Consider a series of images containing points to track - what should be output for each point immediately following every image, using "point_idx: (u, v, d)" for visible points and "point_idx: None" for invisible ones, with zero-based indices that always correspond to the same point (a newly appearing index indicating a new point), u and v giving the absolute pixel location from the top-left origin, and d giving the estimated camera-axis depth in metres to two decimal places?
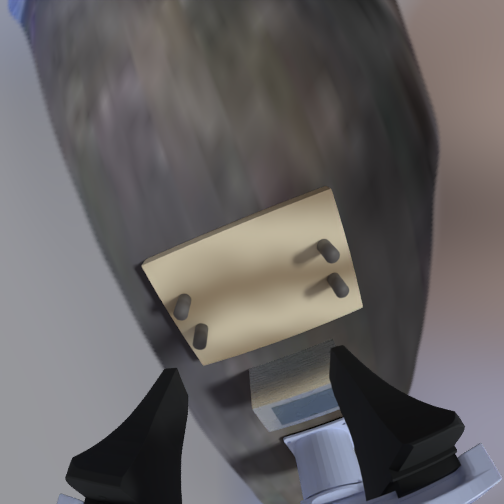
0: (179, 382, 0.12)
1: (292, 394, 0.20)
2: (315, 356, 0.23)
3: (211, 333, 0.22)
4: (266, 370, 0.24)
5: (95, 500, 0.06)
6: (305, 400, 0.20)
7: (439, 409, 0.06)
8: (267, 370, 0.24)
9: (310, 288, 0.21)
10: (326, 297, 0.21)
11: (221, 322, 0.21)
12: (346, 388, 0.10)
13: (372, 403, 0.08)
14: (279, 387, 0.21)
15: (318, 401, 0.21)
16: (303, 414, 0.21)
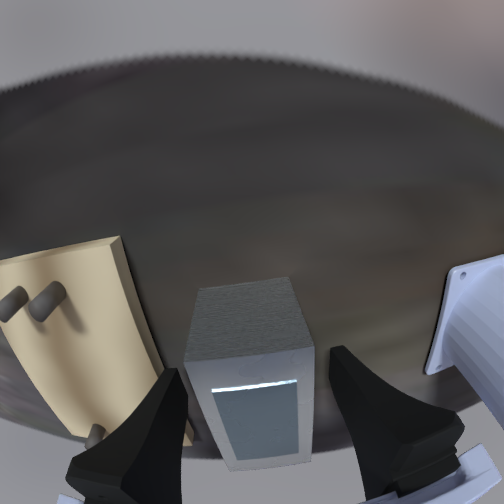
0: (178, 382, 0.12)
1: (215, 436, 0.10)
2: None
3: None
4: None
5: (95, 500, 0.06)
6: (236, 429, 0.10)
7: (439, 409, 0.06)
8: None
9: (72, 323, 0.12)
10: (85, 306, 0.11)
11: (124, 416, 0.14)
12: (346, 388, 0.10)
13: (372, 403, 0.08)
14: None
15: (252, 414, 0.09)
16: (282, 433, 0.10)
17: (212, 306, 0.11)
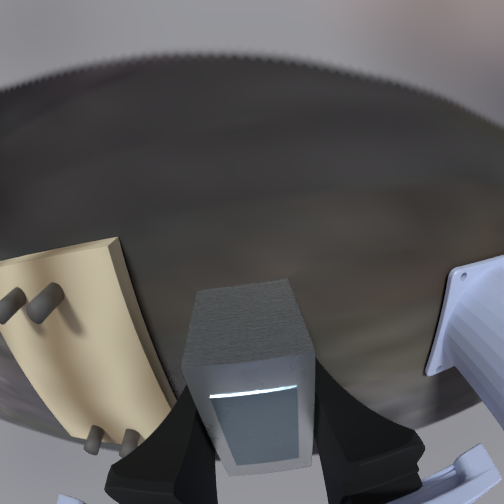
0: None
1: (213, 441, 0.10)
2: None
3: (139, 429, 0.15)
4: None
5: None
6: (235, 434, 0.09)
7: (398, 426, 0.06)
8: None
9: (70, 325, 0.12)
10: (83, 307, 0.11)
11: (123, 418, 0.14)
12: None
13: (328, 414, 0.08)
14: None
15: (252, 420, 0.09)
16: (282, 438, 0.10)
17: (211, 310, 0.11)
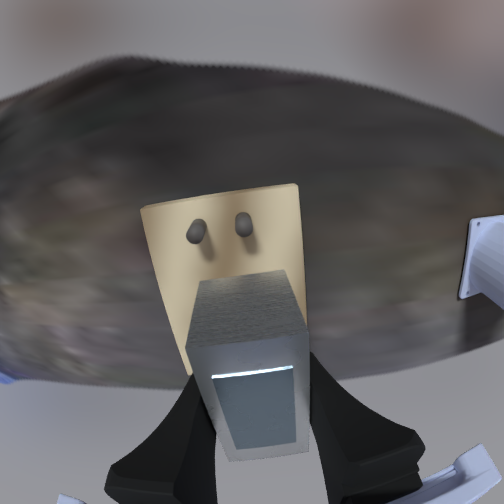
0: None
1: (214, 424, 0.11)
2: None
3: None
4: None
5: None
6: (235, 416, 0.10)
7: (398, 426, 0.06)
8: None
9: (247, 247, 0.19)
10: (265, 231, 0.18)
11: None
12: (310, 396, 0.10)
13: (328, 414, 0.08)
14: None
15: (251, 401, 0.10)
16: (280, 421, 0.10)
17: (212, 298, 0.12)
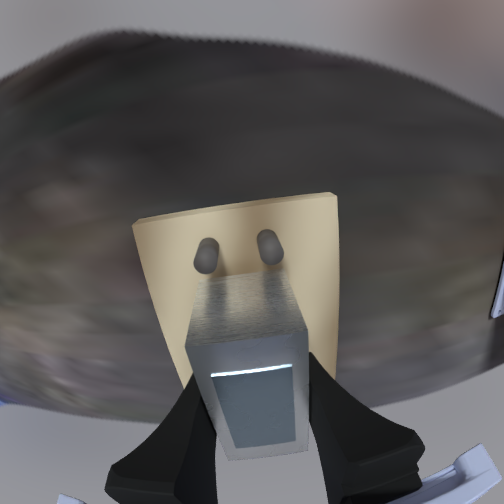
0: None
1: (214, 422, 0.11)
2: None
3: None
4: None
5: None
6: (234, 415, 0.10)
7: (398, 426, 0.06)
8: None
9: None
10: (295, 253, 0.14)
11: None
12: (310, 396, 0.10)
13: (328, 414, 0.08)
14: None
15: (250, 400, 0.10)
16: (279, 420, 0.10)
17: (212, 297, 0.12)
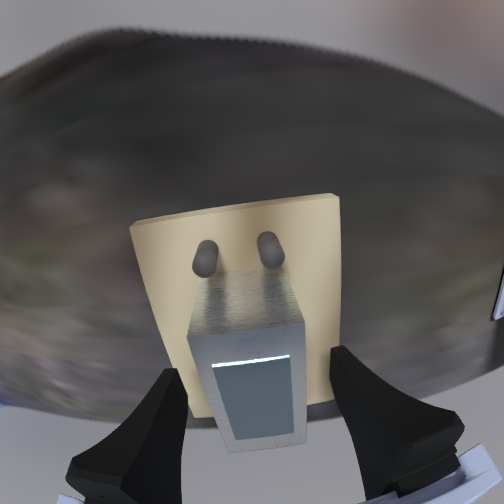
0: (178, 382, 0.12)
1: (214, 414, 0.11)
2: None
3: None
4: None
5: (95, 500, 0.06)
6: (234, 405, 0.11)
7: (439, 409, 0.06)
8: None
9: None
10: (296, 255, 0.14)
11: None
12: (346, 388, 0.10)
13: (372, 403, 0.08)
14: None
15: (249, 390, 0.10)
16: (278, 411, 0.11)
17: (213, 291, 0.12)
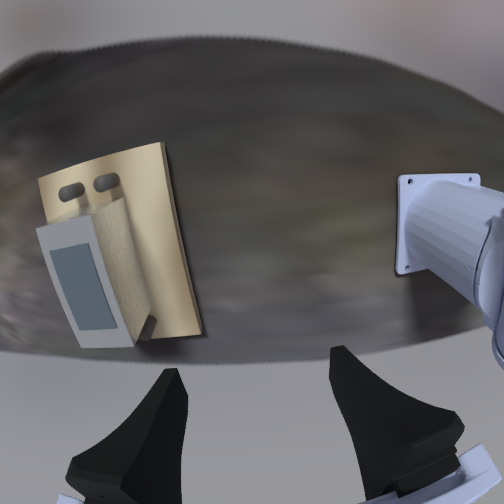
0: (178, 382, 0.12)
1: (62, 300, 0.14)
2: None
3: (157, 313, 0.20)
4: None
5: (95, 500, 0.06)
6: (68, 290, 0.14)
7: (439, 409, 0.06)
8: None
9: None
10: (133, 189, 0.17)
11: None
12: (346, 388, 0.10)
13: (372, 403, 0.08)
14: None
15: (73, 274, 0.14)
16: (95, 298, 0.14)
17: (71, 212, 0.16)
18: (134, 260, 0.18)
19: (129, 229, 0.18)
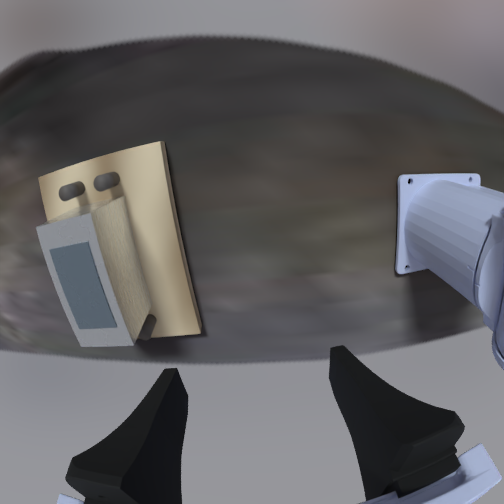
0: (178, 382, 0.12)
1: (62, 299, 0.14)
2: None
3: (156, 312, 0.20)
4: None
5: (95, 500, 0.06)
6: (68, 288, 0.14)
7: (439, 409, 0.06)
8: None
9: None
10: (133, 188, 0.17)
11: None
12: (346, 388, 0.10)
13: (372, 403, 0.08)
14: None
15: (73, 273, 0.14)
16: (95, 297, 0.14)
17: (71, 211, 0.16)
18: (134, 259, 0.18)
19: (129, 228, 0.18)
